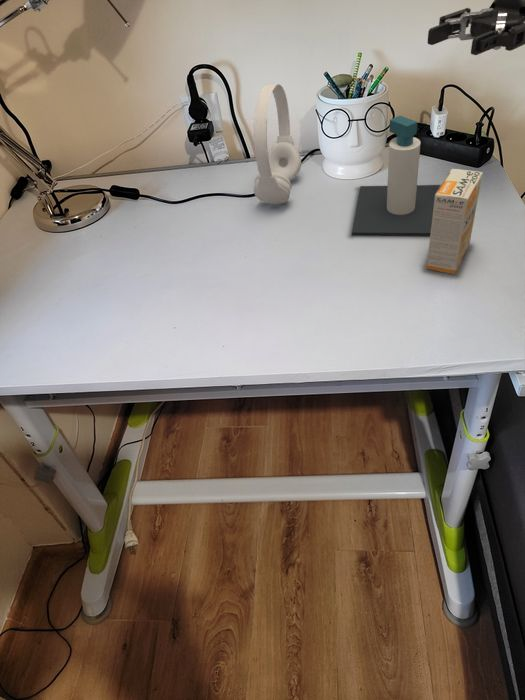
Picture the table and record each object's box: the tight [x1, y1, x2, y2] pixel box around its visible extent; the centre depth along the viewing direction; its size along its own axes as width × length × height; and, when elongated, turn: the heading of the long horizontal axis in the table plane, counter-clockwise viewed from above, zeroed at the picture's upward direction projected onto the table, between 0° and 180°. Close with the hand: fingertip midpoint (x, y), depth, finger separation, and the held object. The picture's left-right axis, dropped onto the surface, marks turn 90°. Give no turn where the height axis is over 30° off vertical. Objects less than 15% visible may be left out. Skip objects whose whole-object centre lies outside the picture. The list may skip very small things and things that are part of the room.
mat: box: [351, 184, 442, 237], centre depth 92 cm, size 16×16×1 cm
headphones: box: [253, 83, 302, 205], centre depth 96 cm, size 7×18×20 cm, turn 166°
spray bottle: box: [387, 115, 422, 215], centre depth 87 cm, size 5×5×16 cm
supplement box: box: [426, 168, 484, 275], centre depth 77 cm, size 8×5×13 cm, turn 150°
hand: (450, 42), depth 75 cm, fingers open, 8 cm apart
